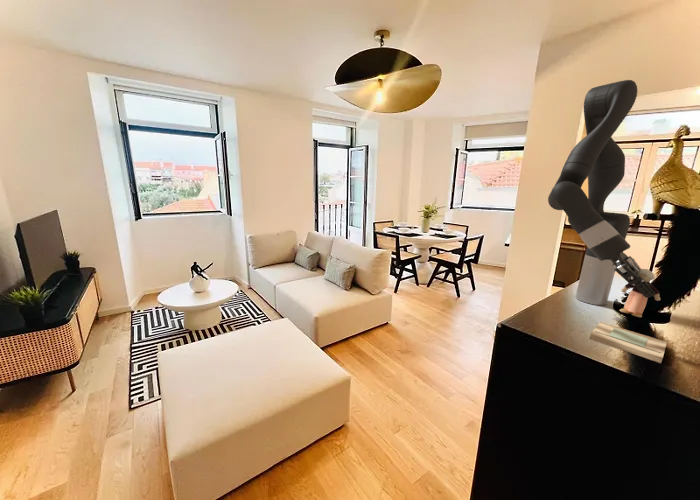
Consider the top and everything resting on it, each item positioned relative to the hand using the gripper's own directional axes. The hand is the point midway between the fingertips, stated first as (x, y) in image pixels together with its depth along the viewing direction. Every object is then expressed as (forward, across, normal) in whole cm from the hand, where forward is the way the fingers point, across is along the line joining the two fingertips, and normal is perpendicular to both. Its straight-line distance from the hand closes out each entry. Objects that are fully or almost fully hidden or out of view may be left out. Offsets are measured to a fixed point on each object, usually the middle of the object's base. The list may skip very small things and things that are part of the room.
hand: (651, 294), depth 74 cm
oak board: (+9, 0, +12) cm, 15 cm away
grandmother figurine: (+3, -1, +6) cm, 7 cm away
